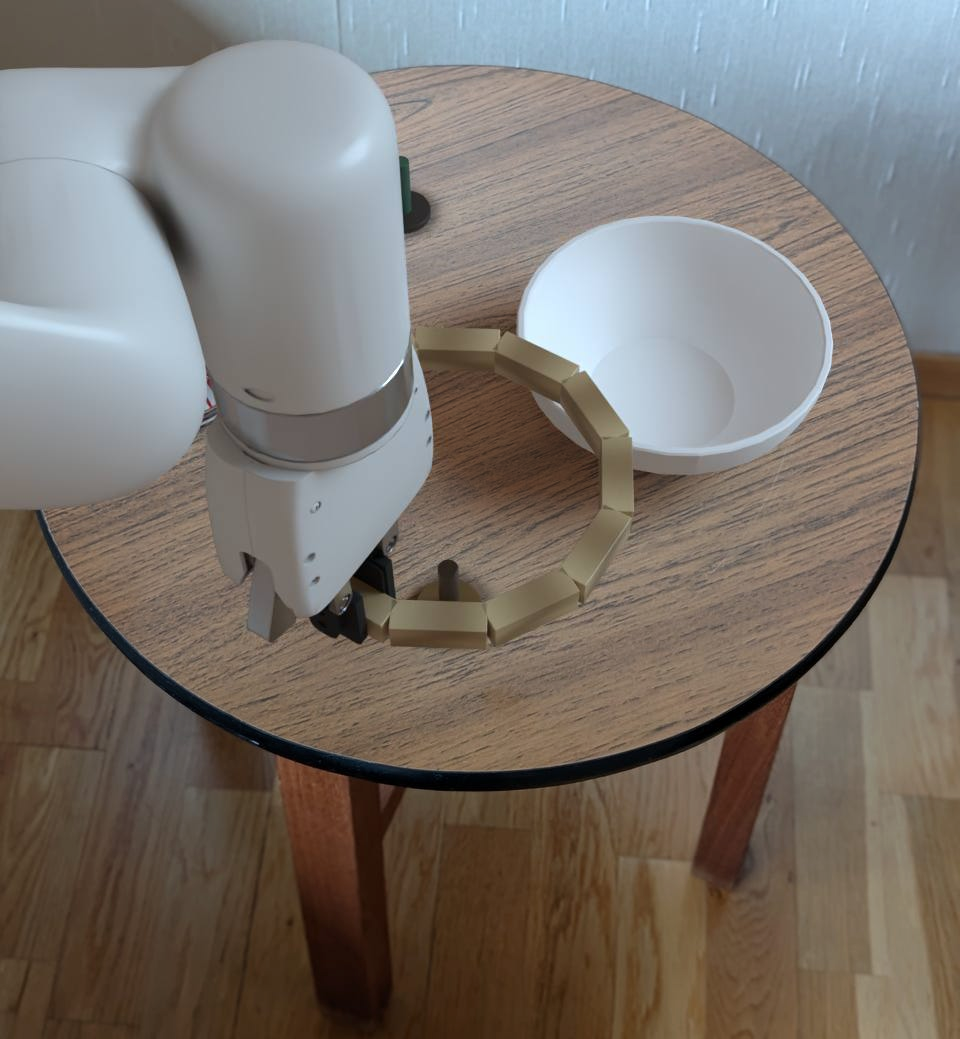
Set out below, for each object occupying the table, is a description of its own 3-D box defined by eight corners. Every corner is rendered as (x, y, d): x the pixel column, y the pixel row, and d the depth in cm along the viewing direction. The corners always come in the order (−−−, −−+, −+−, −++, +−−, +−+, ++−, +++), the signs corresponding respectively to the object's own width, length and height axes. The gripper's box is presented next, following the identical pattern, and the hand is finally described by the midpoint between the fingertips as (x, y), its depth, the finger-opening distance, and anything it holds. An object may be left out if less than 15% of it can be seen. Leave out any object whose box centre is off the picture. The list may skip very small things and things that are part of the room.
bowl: (777, 282, 94) (798, 206, 88) (838, 512, 84) (866, 445, 78) (501, 296, 93) (503, 221, 87) (527, 531, 83) (531, 464, 77)
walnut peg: (459, 652, 78) (458, 610, 74) (402, 619, 79) (398, 577, 75) (495, 602, 80) (496, 558, 76) (439, 571, 81) (438, 526, 77)
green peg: (410, 241, 96) (408, 189, 92) (365, 219, 97) (360, 167, 93) (441, 208, 98) (440, 155, 94) (396, 187, 99) (393, 134, 95)
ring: (507, 716, 62) (508, 699, 60) (193, 535, 67) (187, 516, 66) (693, 442, 70) (698, 421, 69) (401, 301, 76) (399, 279, 74)
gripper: (352, 201, 54) (381, 463, 70) (92, 468, 47) (189, 695, 62) (509, 274, 52) (503, 528, 67) (262, 566, 45) (319, 776, 60)
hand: (352, 607), depth 65 cm, fingers closed on ring, 1 cm apart
